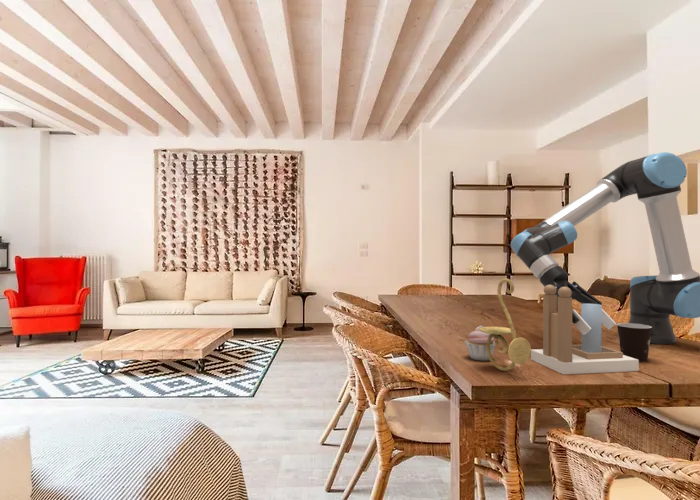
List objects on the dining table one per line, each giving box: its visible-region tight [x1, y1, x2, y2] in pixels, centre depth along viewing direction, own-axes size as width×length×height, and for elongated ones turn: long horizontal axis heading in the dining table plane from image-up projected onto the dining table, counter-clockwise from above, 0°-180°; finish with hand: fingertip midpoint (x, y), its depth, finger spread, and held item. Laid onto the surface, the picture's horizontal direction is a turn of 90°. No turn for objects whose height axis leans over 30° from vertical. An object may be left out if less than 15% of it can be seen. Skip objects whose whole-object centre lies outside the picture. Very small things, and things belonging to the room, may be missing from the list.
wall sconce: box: [479, 278, 532, 372], centre depth 113 cm, size 14×10×25 cm
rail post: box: [580, 303, 603, 353], centre depth 119 cm, size 5×5×14 cm
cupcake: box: [464, 325, 497, 362], centre depth 126 cm, size 9×9×10 cm
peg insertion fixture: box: [530, 285, 640, 375], centre depth 119 cm, size 22×15×23 cm
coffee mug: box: [616, 322, 652, 363], centre depth 126 cm, size 12×9×10 cm
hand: (600, 329), depth 117 cm, fingers open, 13 cm apart
